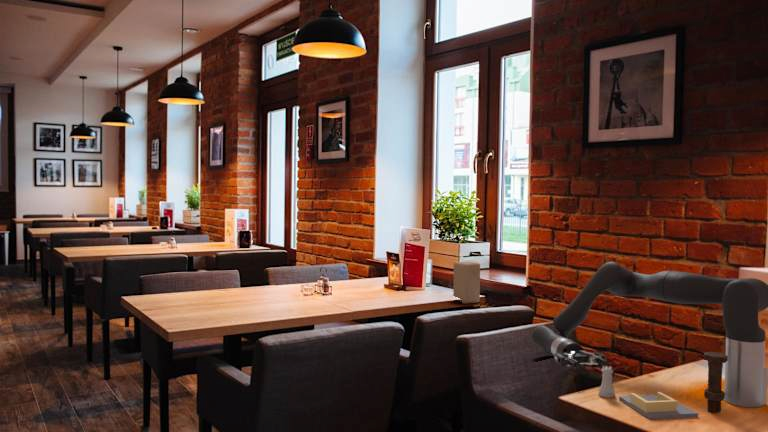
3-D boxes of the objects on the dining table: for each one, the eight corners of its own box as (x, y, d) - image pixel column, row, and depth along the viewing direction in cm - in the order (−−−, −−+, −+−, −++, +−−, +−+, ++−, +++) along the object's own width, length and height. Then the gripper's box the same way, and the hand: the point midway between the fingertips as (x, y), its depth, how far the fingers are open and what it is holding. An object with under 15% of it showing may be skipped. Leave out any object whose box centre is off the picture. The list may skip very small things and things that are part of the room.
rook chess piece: (594, 394, 180) (595, 365, 180) (607, 392, 182) (608, 364, 181) (605, 399, 176) (606, 369, 176) (618, 397, 178) (619, 368, 177)
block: (480, 302, 326) (481, 263, 325) (464, 304, 321) (465, 264, 320) (468, 299, 335) (468, 261, 334) (452, 301, 330) (453, 262, 329)
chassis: (663, 398, 177) (663, 385, 177) (698, 417, 162) (698, 403, 162) (619, 400, 175) (619, 387, 175) (649, 419, 160) (650, 405, 160)
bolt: (730, 414, 164) (732, 355, 164) (716, 416, 163) (717, 357, 162) (711, 407, 170) (713, 350, 169) (697, 409, 168) (698, 352, 167)
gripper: (545, 340, 203) (568, 353, 187) (588, 339, 205) (614, 351, 189) (545, 364, 203) (567, 378, 187) (588, 362, 205) (613, 376, 189)
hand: (591, 365), depth 188 cm, fingers open, 8 cm apart
